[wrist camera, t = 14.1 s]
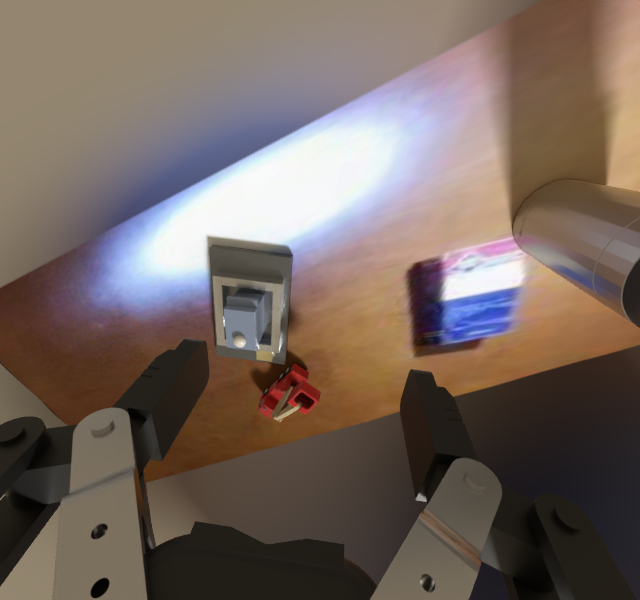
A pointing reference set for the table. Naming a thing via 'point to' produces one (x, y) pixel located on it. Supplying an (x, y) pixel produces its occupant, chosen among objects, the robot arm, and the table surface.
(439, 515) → the robot arm
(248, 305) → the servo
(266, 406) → the toy fire truck
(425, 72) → the table surface
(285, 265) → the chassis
